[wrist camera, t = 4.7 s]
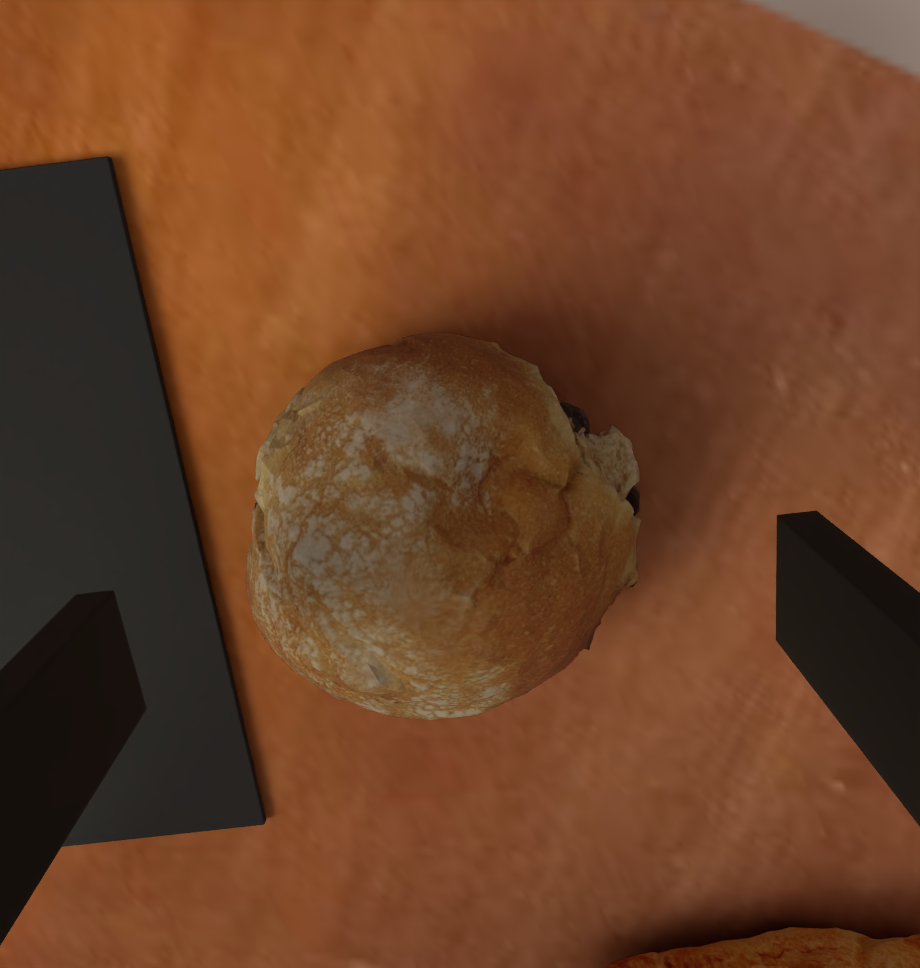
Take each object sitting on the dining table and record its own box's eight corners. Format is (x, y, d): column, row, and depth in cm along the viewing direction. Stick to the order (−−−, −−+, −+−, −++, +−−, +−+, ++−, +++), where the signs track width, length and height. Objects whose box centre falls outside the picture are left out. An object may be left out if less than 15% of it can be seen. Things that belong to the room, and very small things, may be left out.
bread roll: (346, 305, 24) (149, 325, 17) (688, 348, 21) (612, 396, 14) (337, 600, 27) (166, 718, 20) (634, 685, 24) (549, 866, 17)
